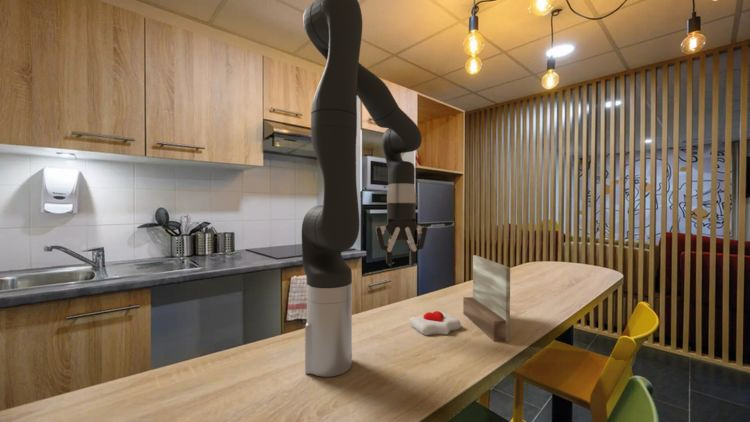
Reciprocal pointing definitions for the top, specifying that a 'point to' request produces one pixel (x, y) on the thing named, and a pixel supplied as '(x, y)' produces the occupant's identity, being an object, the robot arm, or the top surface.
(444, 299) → the top surface
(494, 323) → the display ledge
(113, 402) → the top surface
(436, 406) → the top surface
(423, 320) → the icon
